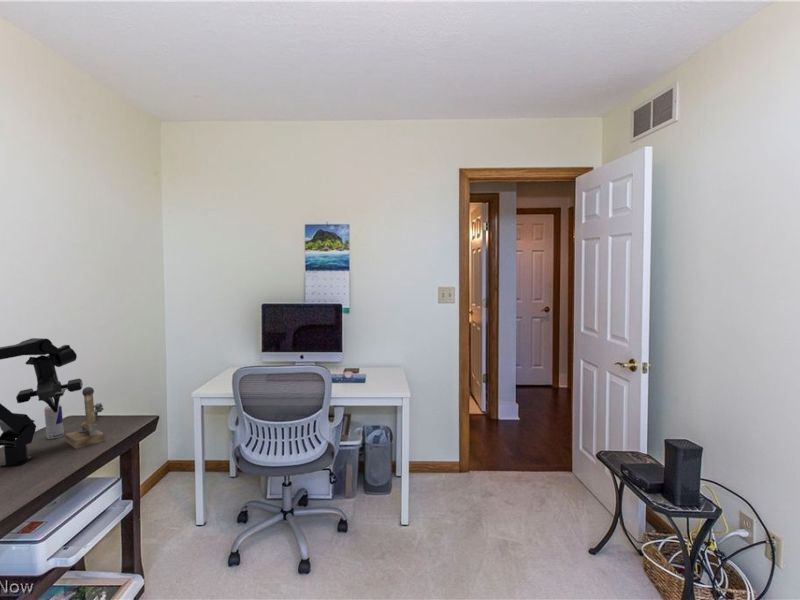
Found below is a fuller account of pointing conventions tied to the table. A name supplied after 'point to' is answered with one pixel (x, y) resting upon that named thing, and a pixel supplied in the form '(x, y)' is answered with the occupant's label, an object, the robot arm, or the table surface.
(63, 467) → the table surface
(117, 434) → the table surface
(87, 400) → the lever
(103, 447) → the table surface
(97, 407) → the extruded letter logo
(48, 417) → the energy drink
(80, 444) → the press bench
